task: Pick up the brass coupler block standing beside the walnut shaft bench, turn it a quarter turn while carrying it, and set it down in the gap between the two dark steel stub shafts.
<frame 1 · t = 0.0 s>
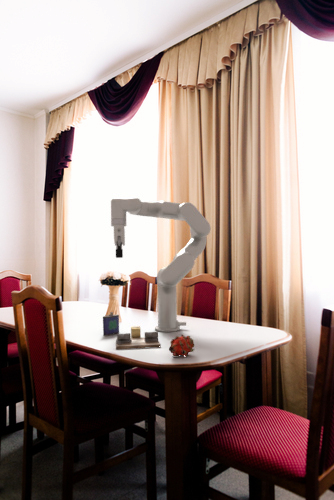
hand: (119, 257, 187), 37 cm above the table, tool pointing down, fingers open, 9 cm apart
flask: (111, 334, 181), on the table
coupler: (135, 338, 171), on the table
dragon fruit: (181, 357, 140), on the table
shaft bench: (137, 344, 160), on the table
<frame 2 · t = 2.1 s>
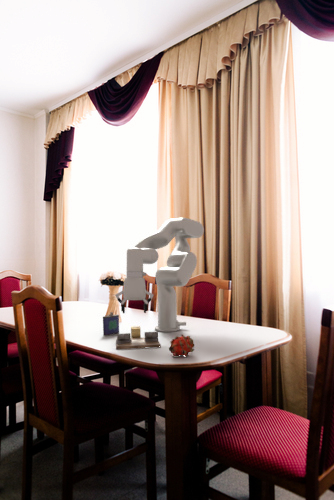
hand: (134, 312, 171), 12 cm above the table, tool pointing down, fingers open, 9 cm apart
nothing on the table moved.
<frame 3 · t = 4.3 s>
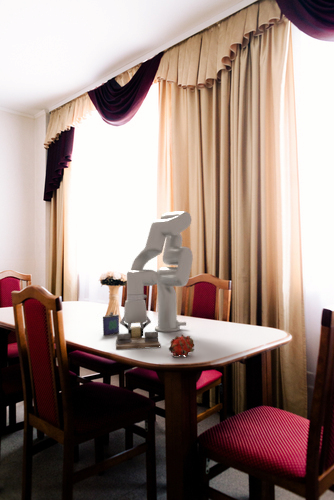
hand: (135, 337, 171), 0 cm above the table, tool pointing down, fingers closed on coupler, 4 cm apart
coupler: (135, 338, 171), on the table, touching gripper
everything else where it was.
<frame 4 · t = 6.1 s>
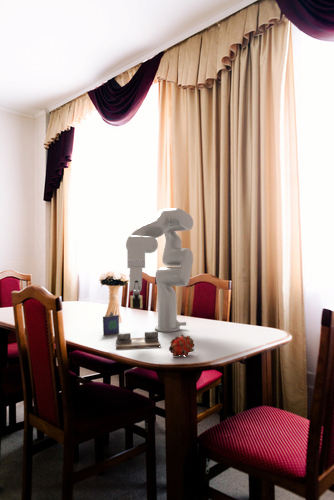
hand: (136, 306, 161), 16 cm above the table, tool pointing down, fingers closed on coupler, 4 cm apart
coupler: (136, 307, 161), point 15 cm above the table, touching gripper
everything else where it was.
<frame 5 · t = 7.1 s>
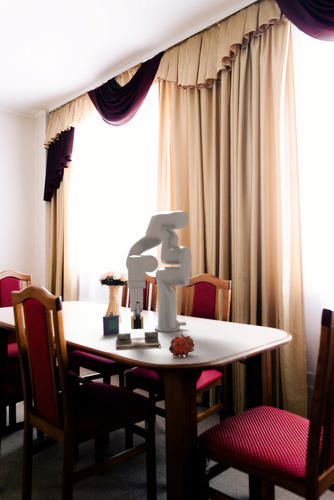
hand: (137, 327, 160), 7 cm above the table, tool pointing down, fingers closed on coupler, 4 cm apart
coupler: (137, 328, 160), point 7 cm above the table, touching gripper
everything else where it was.
when the fingers open (3 cm above the table, at t = 8.0 s): coupler drops 2 cm, resting on shaft bench.
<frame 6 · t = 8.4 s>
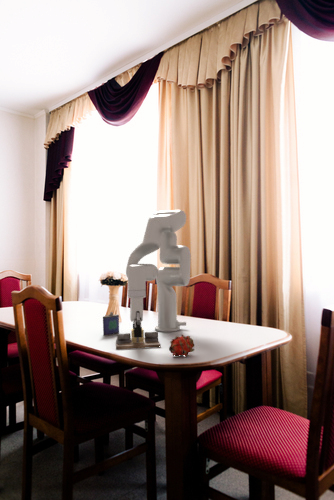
hand: (137, 334, 160), 4 cm above the table, tool pointing down, fingers open, 8 cm apart
coupler: (137, 341, 160), point 1 cm above the table, touching shaft bench
everything else where it was.
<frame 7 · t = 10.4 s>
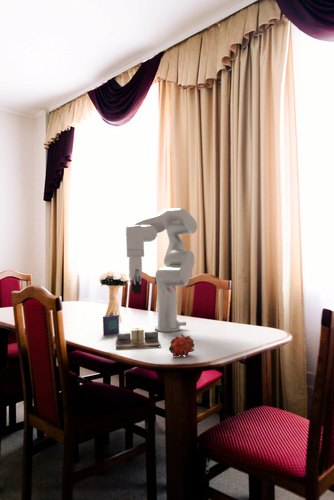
hand: (136, 292, 165), 22 cm above the table, tool pointing down, fingers open, 9 cm apart
nothing on the table moved.
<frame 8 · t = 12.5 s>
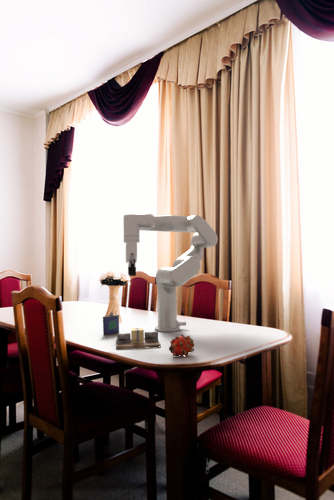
hand: (131, 275, 180), 28 cm above the table, tool pointing down, fingers open, 9 cm apart
nothing on the table moved.
at the end: coupler 0.1 cm off-centre on the shaft bench, point 1.3 cm above the shaft bench's base; coupler tilted 0°; the gripper is holding nothing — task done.
